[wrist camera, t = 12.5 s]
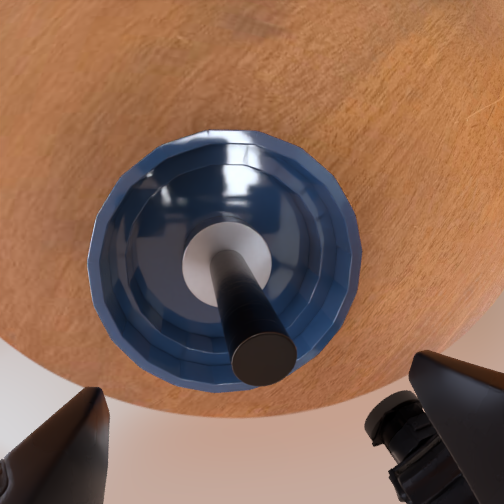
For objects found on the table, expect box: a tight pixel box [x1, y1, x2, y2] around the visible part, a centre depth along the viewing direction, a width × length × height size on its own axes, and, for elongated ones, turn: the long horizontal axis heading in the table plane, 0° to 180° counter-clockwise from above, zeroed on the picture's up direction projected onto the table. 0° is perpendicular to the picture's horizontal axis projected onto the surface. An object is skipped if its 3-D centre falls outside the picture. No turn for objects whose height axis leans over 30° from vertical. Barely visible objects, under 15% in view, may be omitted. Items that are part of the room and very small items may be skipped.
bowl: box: [87, 129, 362, 393], centre depth 18 cm, size 14×14×4 cm
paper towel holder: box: [182, 216, 297, 386], centre depth 14 cm, size 5×5×11 cm
